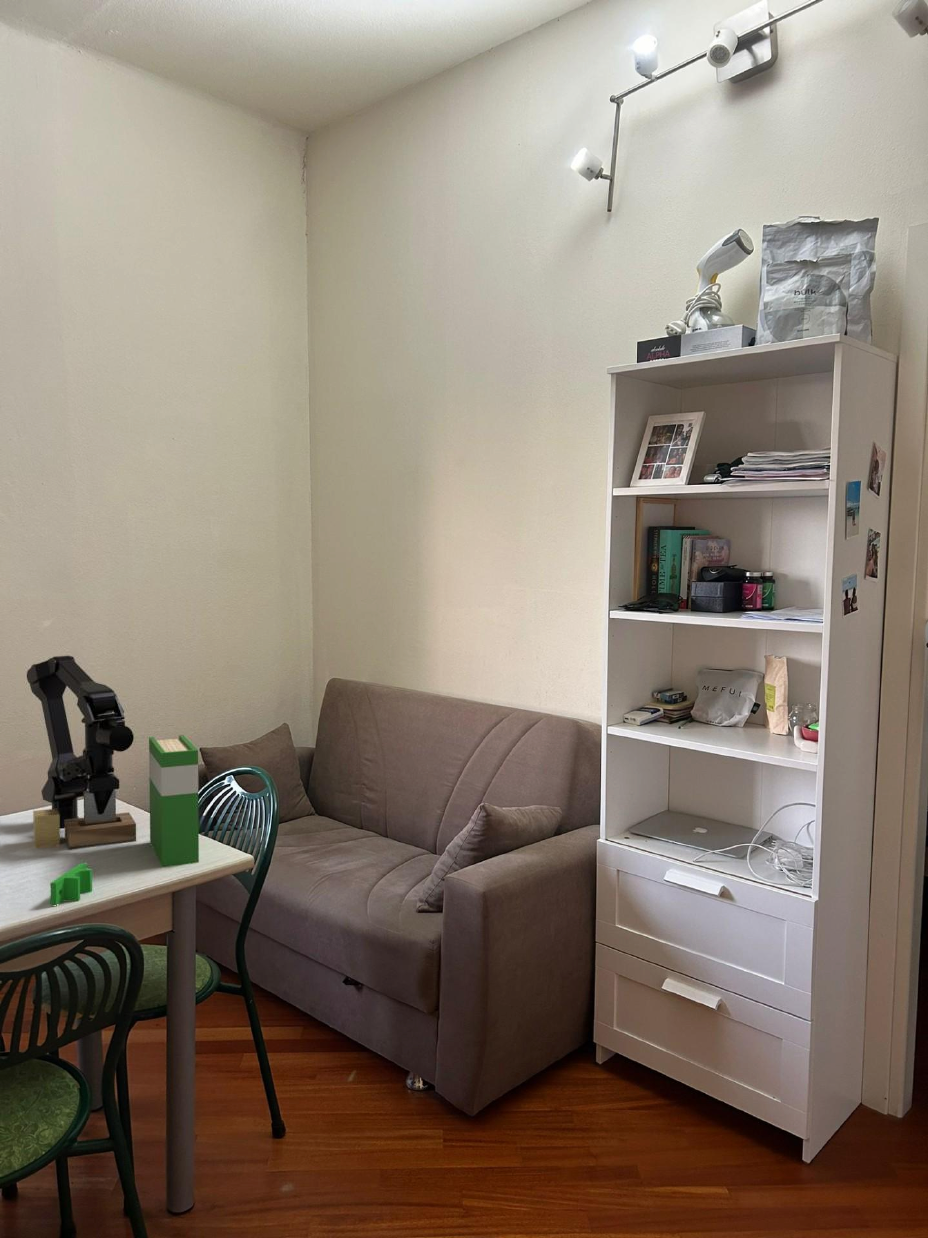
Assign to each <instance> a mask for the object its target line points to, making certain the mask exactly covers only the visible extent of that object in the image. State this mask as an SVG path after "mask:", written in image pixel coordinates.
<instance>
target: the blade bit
mask: <svg viewBox="0 0 928 1238" xmlns="http://www.w3.org/2000/svg"><path fill="white" fill-rule="evenodd" d="M116 793H117V791H116V789H114V791H113V793H112V795H111V797H110V799H109V802H108V804H107V806H106V809H105V811H104V813H103V814H98V812H97V808H96V803H95V798H94V793H92V792H91V791H89V790H87V791H84V797H83V818H84V823H85V825H86V824H94V823H103V822H112V821H116V814H117V807H116V805H117V804H116V803H117V802H116V801H117V799H116V798H117V797H116V796H117V795H116Z"/></svg>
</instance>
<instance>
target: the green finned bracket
mask: <svg viewBox="0 0 928 1238" xmlns="http://www.w3.org/2000/svg"><path fill="white" fill-rule="evenodd" d="M91 892H93V869H92V868H88V862H85V863H84V862H81V863H79V864H78V865H76V866H75V867H73V868H72V869H69V870H68V871H67V872H65V873H64V874H62V875H60V876H59V877H58V878H56V879H54V880H53V881H52V882H50V906H51V905H56V906H55V907H58V906H57V904H59V905H60V903H61V904H62V903H63V902H65V901H69V902H70V901H73V902H80V901H81V894H84V893H91Z"/></svg>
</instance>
